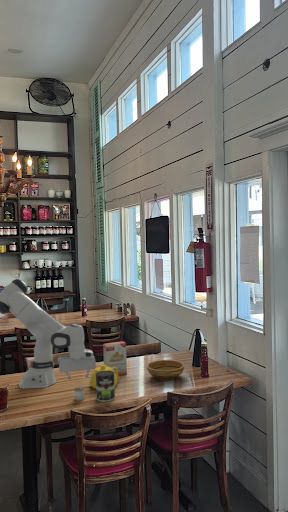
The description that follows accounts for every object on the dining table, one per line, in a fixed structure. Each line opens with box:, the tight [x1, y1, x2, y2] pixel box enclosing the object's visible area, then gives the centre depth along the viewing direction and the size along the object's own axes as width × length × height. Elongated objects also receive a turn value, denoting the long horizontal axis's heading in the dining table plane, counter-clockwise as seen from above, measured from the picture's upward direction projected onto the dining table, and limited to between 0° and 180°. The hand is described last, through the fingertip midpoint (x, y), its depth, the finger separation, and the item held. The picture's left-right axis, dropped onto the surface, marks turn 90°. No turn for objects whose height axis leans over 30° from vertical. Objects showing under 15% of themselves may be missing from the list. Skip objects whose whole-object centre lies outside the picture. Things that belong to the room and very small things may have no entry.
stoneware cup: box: [74, 386, 85, 401], centre depth 241 cm, size 5×5×6 cm
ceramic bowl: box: [145, 359, 186, 381], centre depth 273 cm, size 30×24×8 cm
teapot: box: [89, 364, 121, 390], centre depth 260 cm, size 20×19×13 cm
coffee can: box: [95, 371, 116, 403], centre depth 240 cm, size 10×10×14 cm
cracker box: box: [102, 341, 128, 377], centre depth 281 cm, size 14×6×21 cm, turn 115°
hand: (78, 378), depth 240 cm, fingers open, 8 cm apart
